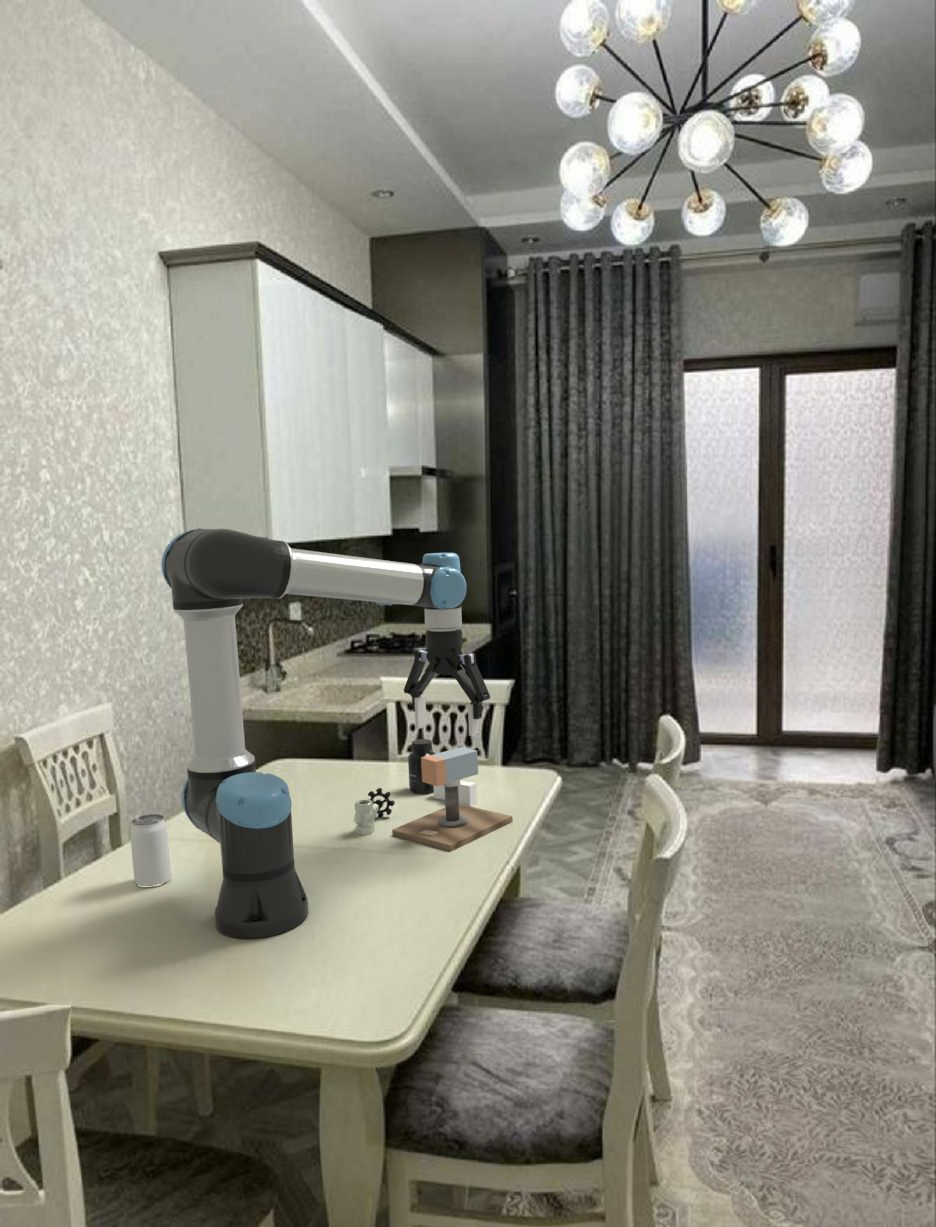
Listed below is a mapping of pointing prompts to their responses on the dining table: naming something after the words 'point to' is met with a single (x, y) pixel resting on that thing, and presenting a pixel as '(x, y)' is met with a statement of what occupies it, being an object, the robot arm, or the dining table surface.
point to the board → (452, 824)
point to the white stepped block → (460, 793)
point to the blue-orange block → (449, 767)
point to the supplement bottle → (419, 766)
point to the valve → (371, 811)
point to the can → (150, 850)
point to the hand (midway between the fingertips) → (447, 731)
